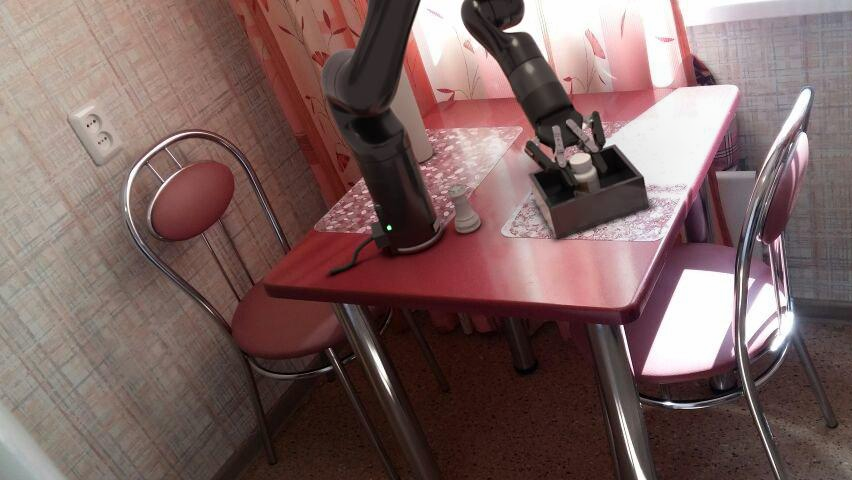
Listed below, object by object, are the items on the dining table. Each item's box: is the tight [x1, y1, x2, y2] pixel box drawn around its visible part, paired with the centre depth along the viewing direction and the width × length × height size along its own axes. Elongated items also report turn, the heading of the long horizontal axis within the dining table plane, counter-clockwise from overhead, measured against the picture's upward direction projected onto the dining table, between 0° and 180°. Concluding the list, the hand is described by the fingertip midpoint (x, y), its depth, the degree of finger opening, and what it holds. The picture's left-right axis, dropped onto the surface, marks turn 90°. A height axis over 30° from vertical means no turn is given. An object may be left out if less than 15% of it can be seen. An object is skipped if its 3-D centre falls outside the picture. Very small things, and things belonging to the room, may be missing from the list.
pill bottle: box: [568, 152, 601, 198], centre depth 131 cm, size 4×4×8 cm
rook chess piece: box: [447, 182, 482, 234], centre depth 135 cm, size 4×4×8 cm
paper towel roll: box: [390, 64, 434, 164], centre depth 160 cm, size 7×6×21 cm
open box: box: [527, 143, 650, 240], centre depth 132 cm, size 16×14×6 cm
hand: (590, 182), depth 129 cm, fingers closed on pill bottle, 4 cm apart
